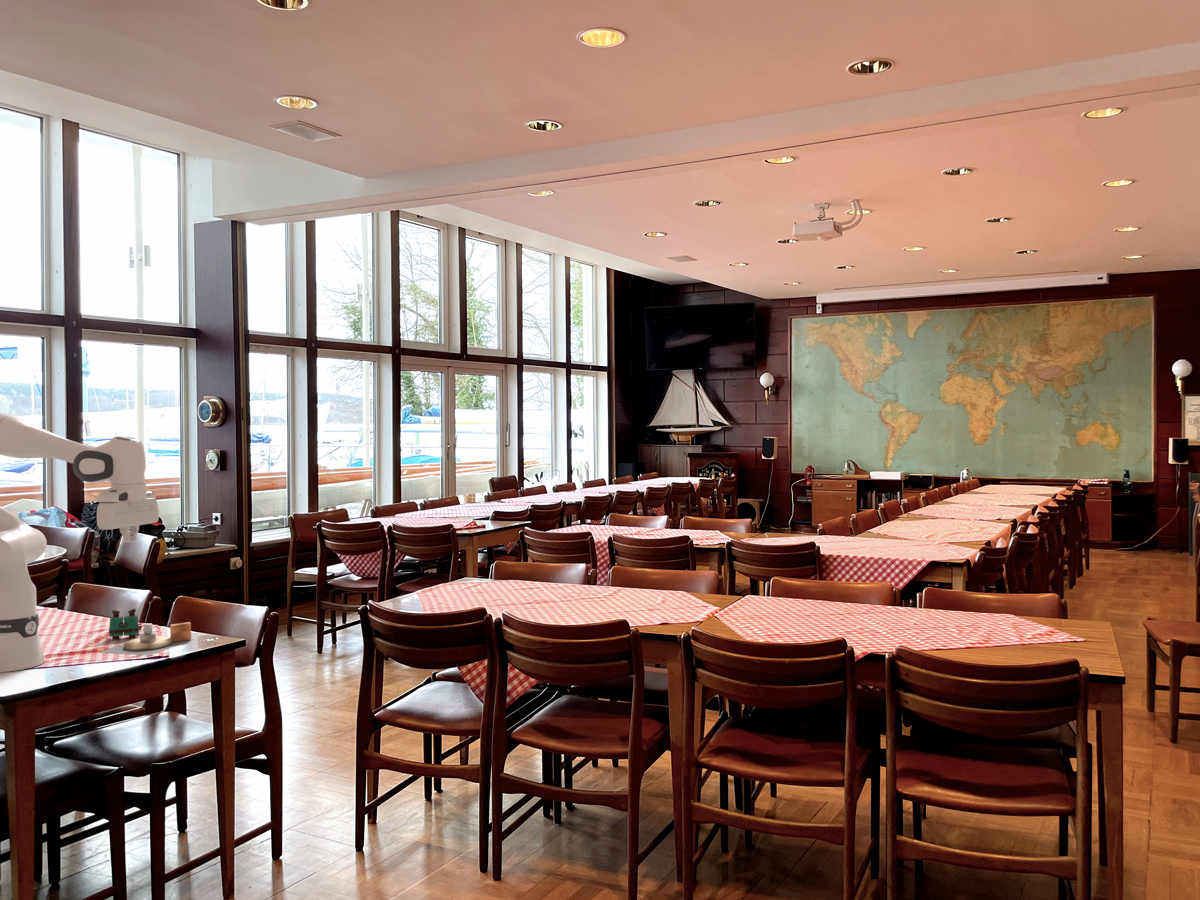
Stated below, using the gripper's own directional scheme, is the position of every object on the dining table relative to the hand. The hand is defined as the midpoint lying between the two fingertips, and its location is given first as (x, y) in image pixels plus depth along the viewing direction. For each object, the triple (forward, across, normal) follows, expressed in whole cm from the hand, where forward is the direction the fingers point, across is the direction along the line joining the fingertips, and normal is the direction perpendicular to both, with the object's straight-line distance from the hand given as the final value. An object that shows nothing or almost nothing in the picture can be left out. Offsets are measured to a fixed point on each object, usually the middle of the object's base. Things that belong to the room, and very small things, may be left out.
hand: (129, 542), depth 253 cm
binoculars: (+35, -24, -23) cm, 49 cm away
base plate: (+35, -15, -7) cm, 39 cm away
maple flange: (+33, -17, -5) cm, 38 cm away
